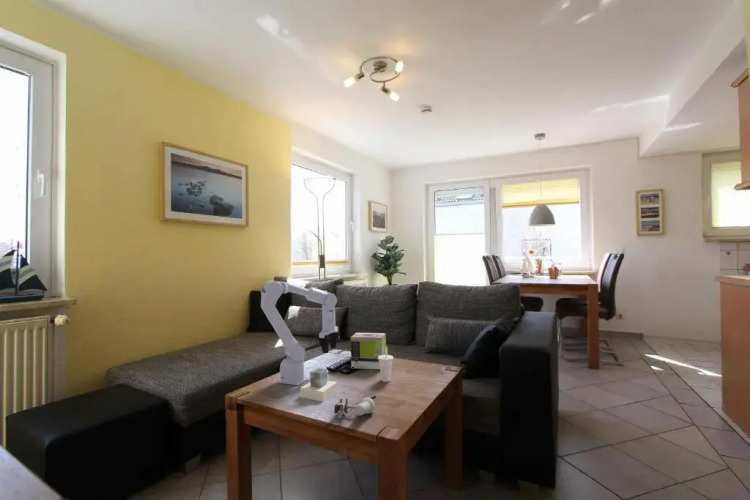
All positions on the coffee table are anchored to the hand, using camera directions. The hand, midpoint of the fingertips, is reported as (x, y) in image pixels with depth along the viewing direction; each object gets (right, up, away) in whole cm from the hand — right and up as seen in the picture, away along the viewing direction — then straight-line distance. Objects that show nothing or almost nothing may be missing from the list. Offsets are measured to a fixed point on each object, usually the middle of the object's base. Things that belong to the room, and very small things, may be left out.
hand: (329, 350), depth 155 cm
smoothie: (+25, -10, -9) cm, 28 cm away
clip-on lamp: (+15, -11, -36) cm, 40 cm away
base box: (-1, -11, -22) cm, 24 cm away
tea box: (+17, -10, +10) cm, 23 cm away
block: (-1, -7, -22) cm, 23 cm away
